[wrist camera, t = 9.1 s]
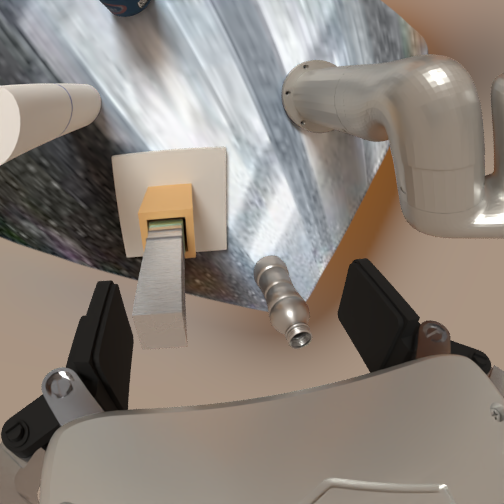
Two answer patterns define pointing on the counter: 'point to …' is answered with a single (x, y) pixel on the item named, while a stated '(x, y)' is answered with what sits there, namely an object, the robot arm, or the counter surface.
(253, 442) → the robot arm
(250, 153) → the counter surface
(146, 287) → the steel column
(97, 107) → the cylindrical container
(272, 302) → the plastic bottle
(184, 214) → the stand base
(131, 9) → the soda can
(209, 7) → the counter surface
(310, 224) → the counter surface
